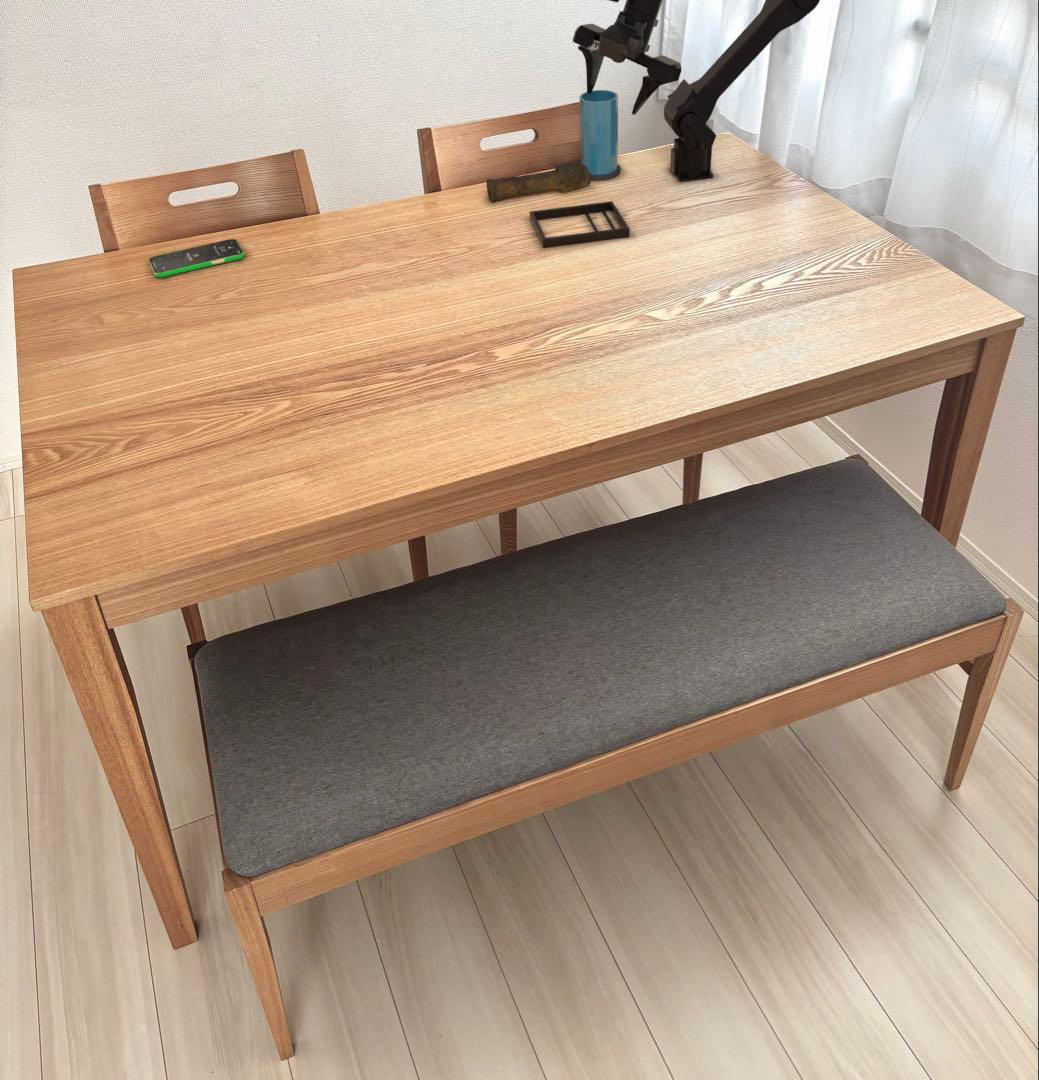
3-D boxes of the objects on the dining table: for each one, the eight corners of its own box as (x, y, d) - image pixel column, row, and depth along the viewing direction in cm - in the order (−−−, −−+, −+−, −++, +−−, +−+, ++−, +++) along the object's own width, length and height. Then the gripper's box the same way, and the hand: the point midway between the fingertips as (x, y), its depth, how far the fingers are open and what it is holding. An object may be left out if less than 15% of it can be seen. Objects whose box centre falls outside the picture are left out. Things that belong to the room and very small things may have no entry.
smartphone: (147, 257, 176) (235, 236, 180) (148, 262, 176) (236, 242, 180) (154, 274, 170) (245, 253, 174) (156, 279, 171) (246, 258, 175)
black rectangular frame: (612, 209, 183) (612, 201, 182) (629, 237, 174) (629, 228, 173) (530, 219, 181) (529, 211, 180) (543, 248, 172) (542, 239, 171)
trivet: (614, 162, 199) (614, 158, 199) (625, 177, 193) (625, 173, 193) (573, 167, 198) (573, 163, 198) (582, 183, 192) (582, 178, 192)
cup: (624, 166, 195) (625, 94, 187) (601, 178, 192) (600, 104, 183) (597, 158, 199) (596, 87, 191) (573, 169, 195) (571, 97, 187)
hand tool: (490, 205, 187) (488, 180, 184) (486, 197, 190) (484, 171, 187) (593, 192, 189) (593, 167, 186) (588, 184, 192) (587, 159, 189)
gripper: (571, -10, 170) (544, 87, 179) (671, 34, 165) (637, 131, 175) (602, -13, 178) (574, 80, 188) (697, 29, 174) (664, 122, 183)
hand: (611, 103), depth 183 cm, fingers open, 9 cm apart
